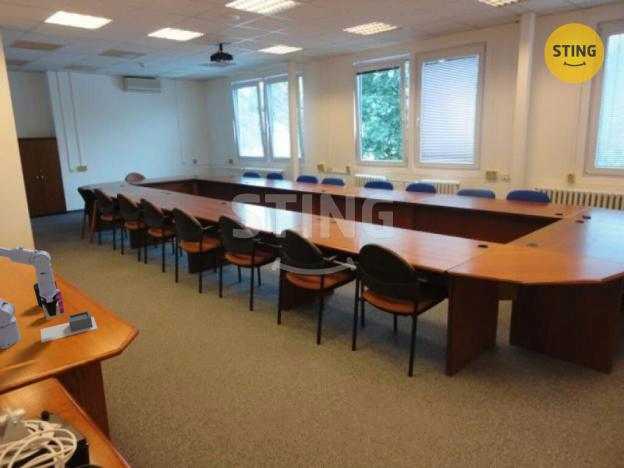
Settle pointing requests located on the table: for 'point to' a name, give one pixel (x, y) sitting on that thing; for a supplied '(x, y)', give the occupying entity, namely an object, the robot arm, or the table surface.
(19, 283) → the table surface
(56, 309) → the ochre block
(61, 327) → the build board
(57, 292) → the supplement box
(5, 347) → the robot arm
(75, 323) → the charcoal base block
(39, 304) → the pen holder
